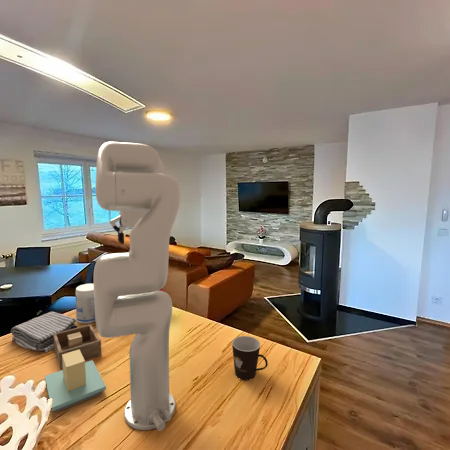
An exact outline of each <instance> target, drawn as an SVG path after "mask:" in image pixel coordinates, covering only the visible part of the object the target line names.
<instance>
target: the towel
mask: <svg viewBox="0 0 450 450" xmlns="http://www.w3.org/2000/svg"><path fill="white" fill-rule="evenodd" d="M76 322H77V318H76V317H71V316H67V315H65V314H62V313H60V312H59V313H58V312H56V311H49V312H47V313H43V314H42V315H40V316H38V317H34V318H32V319H29V320H27V321H25V322H22V323H20V324H18V325H15V326H14V327H11V330H10V334H11V335H12V339H11V341H12V342H15V343H16V344H17V345H19V346H20V347H22V348H25V349H29V350H33V351H39V352H40V351H41V352H42V351H44V353H45V354H46V353H48V352H51V351H52V350H54V340H53V334H55V333H59V332H62V331H66V330H70V329H74V328H78V327H79V326H78V325H77V324H76Z"/></svg>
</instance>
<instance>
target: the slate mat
mask: <svg viewBox="0 0 450 450" xmlns="http://www.w3.org/2000/svg"><path fill="white" fill-rule="evenodd" d="M100 395H102V391H101V392H99V393H96V394H94V395H91V396H89V397H86V398H84V399H81V400H79V401H77V402H74V403H72V404H69V405H67V406H64V407H62V408H59V409H57V410H54V413H57V412H60V411H63V410H65V409H68V408H71V407H72V406H74V405H77V404H81V403H83V402H85V401H87V400H90V399H92V398H94V397H97V396H100Z"/></svg>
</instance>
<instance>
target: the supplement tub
mask: <svg viewBox="0 0 450 450" xmlns="http://www.w3.org/2000/svg"><path fill="white" fill-rule="evenodd" d="M75 314H76V317H75V319H76V322H77V323H79V324H91V323H96V321H95V304H94V283H84V284H80V285H78V286H77V287H76V288H75Z"/></svg>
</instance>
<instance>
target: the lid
mask: <svg viewBox="0 0 450 450" xmlns="http://www.w3.org/2000/svg"><path fill="white" fill-rule="evenodd" d="M62 364H63V368H62V369H60V370H58V371H56V372H52V373H49V374H47V375H46V374H45V375H44V382H45V381H46V382H45V384H46V383H47V386H46V385H45V386H46V390H47V391H46V392H47V395H48V399H49V398H52V399H53V403H52V409H51V408H50V409H51V412H55V410H57V409H59V408H62V407H64V406H67V405H69V404H72V403H74V402H77V401H79V400H81V399H84V398H86V397H89V396H91V395H94V394H96V393H99V392H101V393H102V392H103V391H106V390H107V385H106V384H105V381H104V380H103V378H102V376H101V374H100V371H99V370H98V369H97V368H98V367H97V366H96V364H95V362H94V361H93V359H90V360H89V361H88V360H87V361H85V360H84V358H83V356H82V354H81V351H80V349H79V350H76V351H72V352H69V353H66V354H63V355H62Z"/></svg>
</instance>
